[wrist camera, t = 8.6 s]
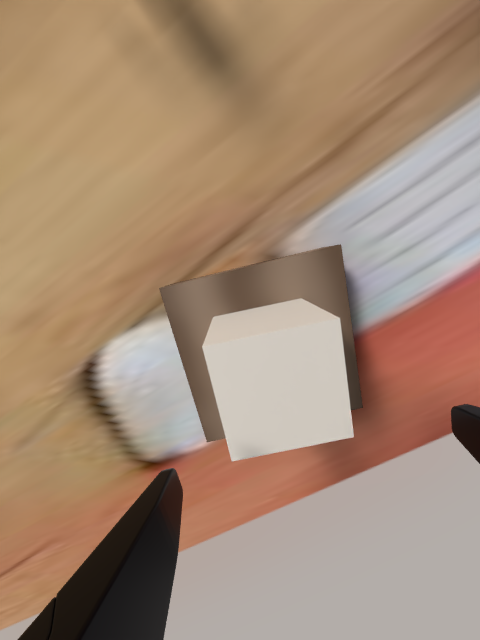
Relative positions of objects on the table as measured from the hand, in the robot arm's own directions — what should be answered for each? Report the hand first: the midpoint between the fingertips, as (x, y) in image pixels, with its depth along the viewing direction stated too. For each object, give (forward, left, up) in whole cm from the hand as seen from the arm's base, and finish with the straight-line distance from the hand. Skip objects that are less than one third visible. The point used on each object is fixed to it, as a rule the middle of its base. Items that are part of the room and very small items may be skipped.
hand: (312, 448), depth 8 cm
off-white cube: (0, 0, -9) cm, 9 cm away
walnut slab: (0, 0, -13) cm, 13 cm away
